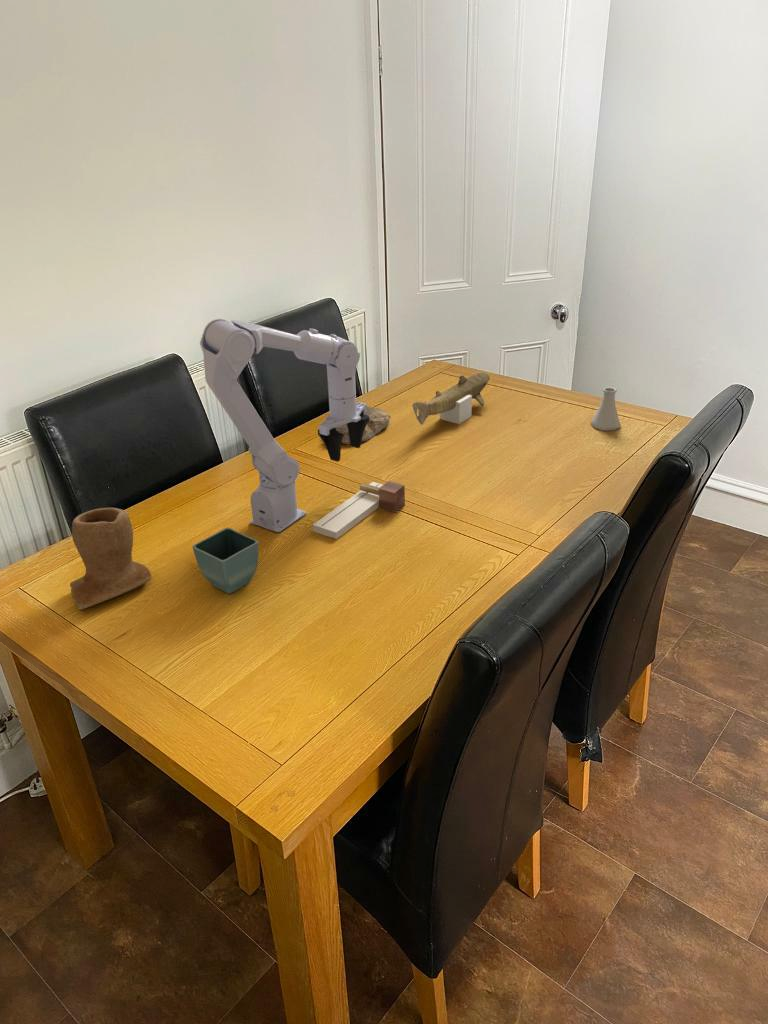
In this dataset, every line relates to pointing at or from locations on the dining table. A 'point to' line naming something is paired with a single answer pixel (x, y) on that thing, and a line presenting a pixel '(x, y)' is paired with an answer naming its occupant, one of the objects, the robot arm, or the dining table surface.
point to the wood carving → (454, 400)
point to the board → (348, 514)
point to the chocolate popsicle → (388, 495)
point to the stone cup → (105, 557)
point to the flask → (607, 412)
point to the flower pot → (227, 559)
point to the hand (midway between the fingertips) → (345, 453)
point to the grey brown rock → (368, 425)
